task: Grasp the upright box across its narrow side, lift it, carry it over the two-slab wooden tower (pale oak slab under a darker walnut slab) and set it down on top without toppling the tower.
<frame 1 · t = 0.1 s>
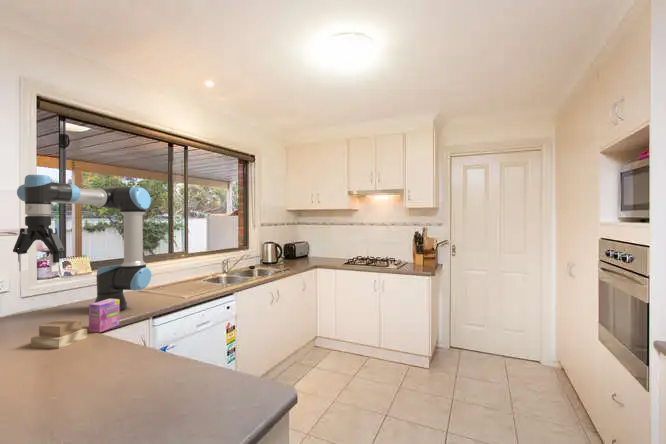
hand: (38, 271, 128), 28 cm above the countertop, fingers open, 13 cm apart
box: (104, 328, 147), on the countertop
tower top: (60, 332, 131), point 3 cm above the countertop, touching tower base
tower base: (60, 343, 130), on the countertop, touching tower top
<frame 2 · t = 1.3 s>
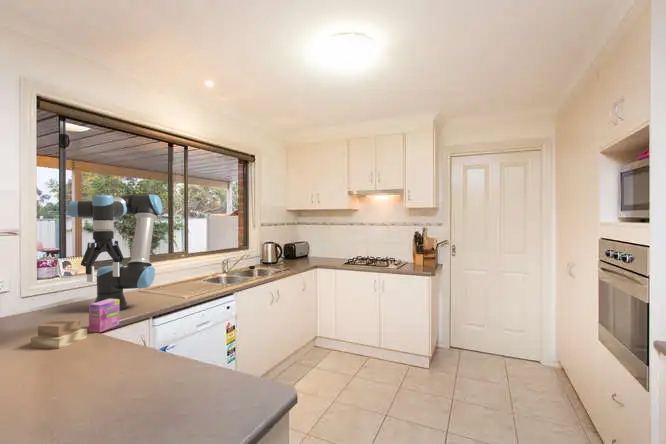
hand: (103, 279, 146), 22 cm above the countertop, fingers open, 13 cm apart
nothing on the countertop moved.
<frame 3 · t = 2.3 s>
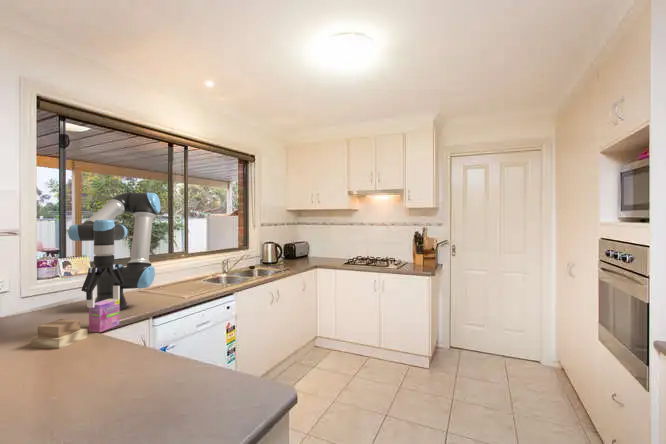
hand: (104, 303, 146), 11 cm above the countertop, fingers open, 13 cm apart
nothing on the countertop moved.
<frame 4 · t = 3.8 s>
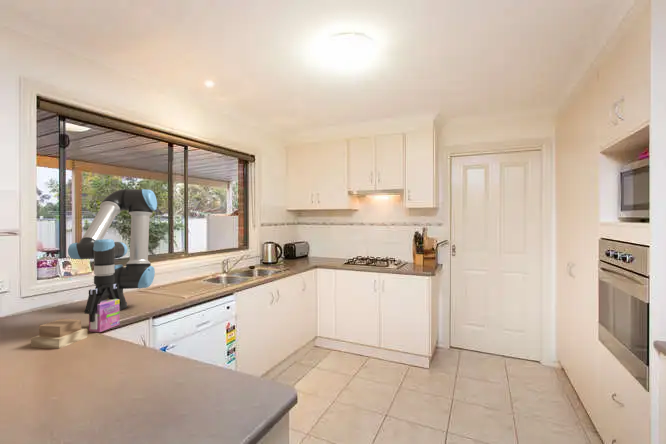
hand: (104, 324, 147), 1 cm above the countertop, fingers closed on box, 11 cm apart
box: (104, 328, 147), on the countertop, touching gripper
tower top: (60, 332, 131), point 3 cm above the countertop
tower base: (60, 343, 130), on the countertop
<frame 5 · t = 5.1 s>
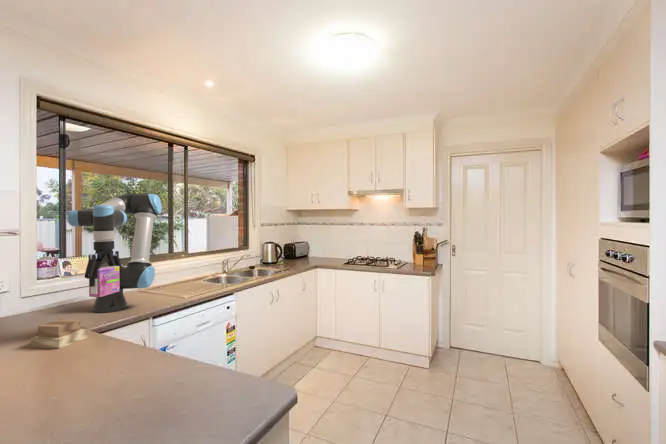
hand: (105, 290, 147), 16 cm above the countertop, fingers closed on box, 11 cm apart
box: (105, 294, 147), point 15 cm above the countertop, touching gripper
everything else where it was.
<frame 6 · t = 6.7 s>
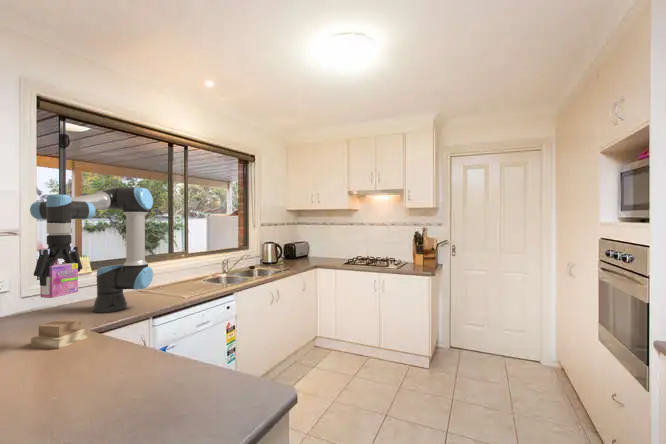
hand: (59, 291, 130), 20 cm above the countertop, fingers closed on box, 11 cm apart
box: (60, 295, 130), point 18 cm above the countertop, touching gripper
everything else where it was.
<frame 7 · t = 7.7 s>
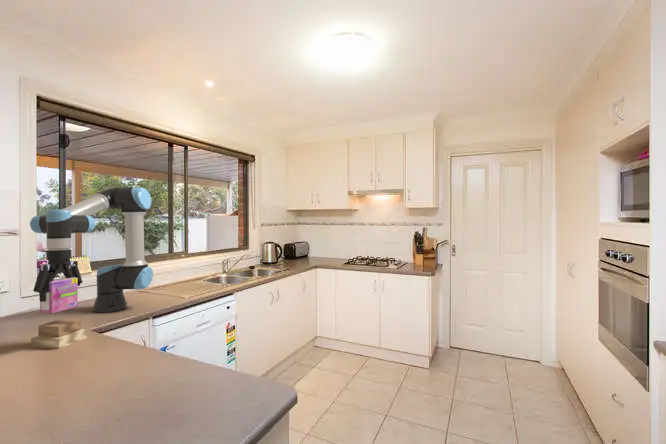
hand: (59, 306, 130), 14 cm above the countertop, fingers closed on box, 11 cm apart
box: (59, 310, 130), point 12 cm above the countertop, touching gripper
tower top: (60, 332, 131), point 3 cm above the countertop, touching tower base
tower base: (60, 343, 130), on the countertop, touching tower top
when the fingers open (10 cm above the countertop, at t = 8.9 s): box drops 1 cm, point 7 cm above the countertop.
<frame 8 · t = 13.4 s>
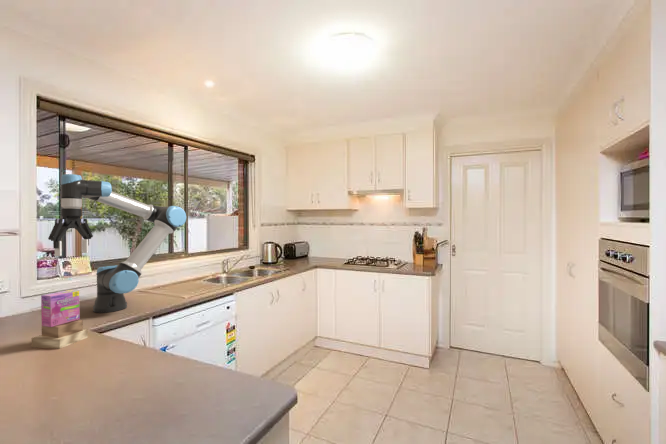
hand: (72, 254, 154), 32 cm above the countertop, fingers open, 13 cm apart
box: (61, 323, 130), point 7 cm above the countertop
at the end: box touching tower top; tower top tilted 0° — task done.
